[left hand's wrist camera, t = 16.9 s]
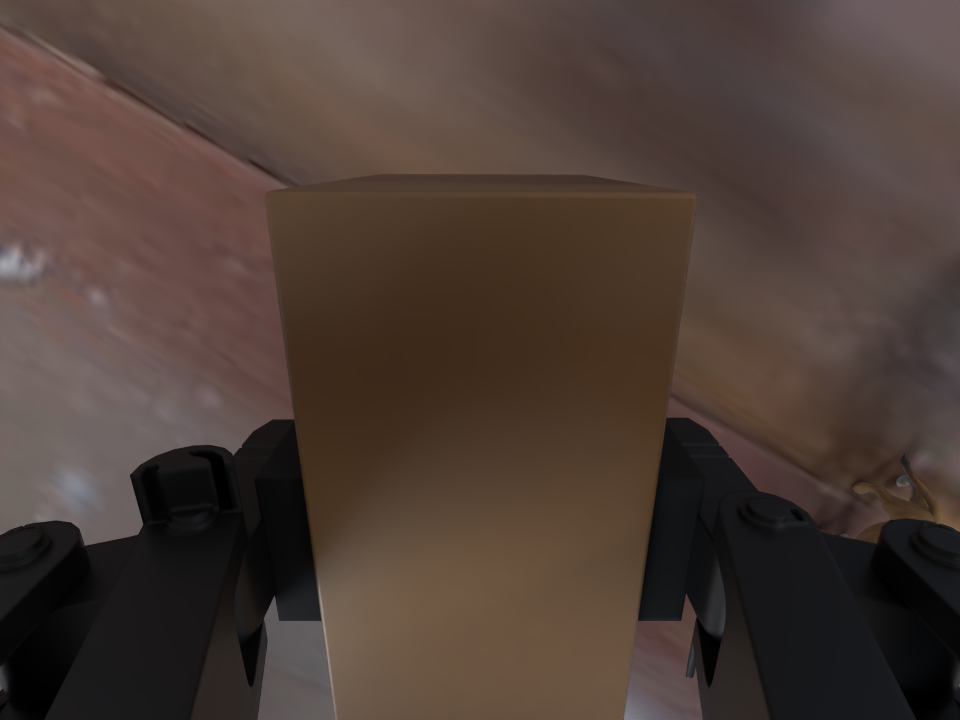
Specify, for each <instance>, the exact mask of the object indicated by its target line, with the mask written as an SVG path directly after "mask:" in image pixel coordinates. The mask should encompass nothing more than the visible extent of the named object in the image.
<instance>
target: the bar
mask: <svg viewBox="0 0 960 720" xmlns="http://www.w3.org/2000/svg"><path fill="white" fill-rule="evenodd" d="M265 204H266V212H267V219H268V226H269V234H270V241H271V249H272V256H273V264H274V271H275V278H276V286H277V293H278V301H279V308H280V316H281V323H282V331H283V338H284V345H285V353H286V360H287V368H288V375H289V383H290V390H291V397H292V405H293V412H294V420H295V427H296V435H297V442H298V450H299V457H300V464H301V472H302V479H303V487H304V494H305V502H306V509H307V517H308V524H309V531H310V539H311V546H312V554H313V561H314V569H315V576H316V583H317V591H318V598H319V606H320V613H321V621H322V628H323V636H324V643H325V650H326V658H327V665H328V673H329V680H330V688H331V695H332V702H333V710H334V717H335V720H624V714H625V707H626V700H627V693H628V686H629V679H630V672H631V664H632V657H633V650H634V643H635V636H636V629H637V622H638V615H639V608H640V601H641V594H642V587H643V580H644V573H645V566H646V559H647V552H648V545H649V538H650V531H651V524H652V517H653V510H654V502H655V495H656V488H657V481H658V474H659V467H660V460H661V453H662V446H663V439H664V432H665V425H666V418H667V411H668V404H669V397H670V390H671V383H672V376H673V369H674V362H675V355H676V348H677V340H678V333H679V326H680V319H681V312H682V305H683V298H684V291H685V284H686V277H687V270H688V263H689V256H690V249H691V242H692V235H693V228H694V221H695V214H696V207H697V195H696V194H694V193H692V192H687V191H681V190H674V189H668V188H662V187H655V186H649V185H643V184H636V183H630V182H624V181H618V180H611V179H605V178H599V177H592V176H586V175H495V174H379V175H372V176H365V177H359V178H352V179H346V180H339V181H332V182H326V183H319V184H312V185H306V186H299V187H292V188H286V189H279V190H273V191H269V192H267V193H266V194H265Z"/></svg>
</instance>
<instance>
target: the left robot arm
mask: <svg viewBox="0 0 960 720" xmlns="http://www.w3.org/2000/svg"><path fill="white" fill-rule="evenodd" d="M728 456H729V455H728V454H727V453H726V451H725V450H724V449H723V448H722V447H721V446H719V443H718V442H717V441H716V439H715V438H714V437H713V436H712V434H711V433H710V432H709V431H708V430H707V429H706V428H704V427H702V426H701V425H699V424H697V423H696V422H694V421H692V420H691V419H689V418H666V425H665V432H664V439H663V446H662V453H661V460H660V467H659V474H658V481H657V488H656V495H655V502H654V510H653V517H652V524H651V531H650V538H649V545H648V552H647V559H646V566H645V573H644V580H643V587H642V594H641V601H640V608H639V615H638V621H681V618H682V613H683V607H684V601H685V596H686V594H687V596H688V598H689V600H690V602H691V604H692V606H693V608H694V611H695V613H696V615H697V617H696V622H695V627H694V633H693V638H692V643H691V648H690V653H689V659H688V664H687V671H686V677H690V678H693V676H694V671H695V666H696V671H697V679H698V687H699V694H700V702H701V710H702V717H703V720H960V687H959V684H960V532H959V531H956V530H955V529H953V528H951V527H949V526H946V525H943V524H940V523H939V524H937V523H936V522H932V521H927V520H917V519H909V518H903V519H895V520H890V521H888V522H887V523H886V524H885V525H883V526H882V528H881V531H880V534H879V537H878V540H877V543H871V542H866V541H861V540H856V539H851V538H846V537H841V536H835V535H831V534H827V533H823V532H821V531H820V529H819V527H818V525H817V524H816V522H815V521H814V520H813V519H812V518H811V516H810V515H809V514H808V513H807V512H806V511H804V510H803V509H801V508H800V507H798V506H797V505H795V504H794V503H792V502H790V501H788V500H785V499H783V498H781V497H778V496H776V495H772V494H768V493H764V492H759V491H758V490H757V489H756V488H755V486H754V485H753V484H752V483H751V482H750V480H749V479H748V478H747V477H746V475H745V474H744V473H743V472H742V471H741V469H740V468H739V467H738V466H737V465H736V463H735V462H734V461H733V460H732V459H731V458H729V457H728ZM130 477H131V481H132V485H133V488H134V492H135V496H136V499H137V503H138V506H139V510H140V514H141V517H142V521H143V526H142V528H141V530H140V532H139V534H138V535H135V536H131V537H127V538H122V539H117V540H112V541H107V542H102V543H97V544H92V545H87V546H85V545H84V542H83V538H82V535H81V532H80V529H79V528H78V527H76V526H75V525H74V524H72V523H71V522H63V521H48V522H40V523H32V524H28V525H25V526H24V527H22V526H20V527H17V528H14V529H11V530H9V531H7V532H6V533H4V534H2V535H0V683H1V685H2V687H3V689H2V690H1V691H0V720H257V719H258V711H259V703H260V696H261V688H262V680H263V673H264V665H265V657H266V650H267V642H268V641H267V634H266V627H265V622H264V617H265V614H266V612H267V610H268V608H269V606H270V604H271V602H272V600H273V597H274V595H275V599H276V604H277V610H278V616H279V621H321V613H320V606H319V598H318V591H317V583H316V576H315V569H314V561H313V554H312V546H311V539H310V531H309V524H308V517H307V509H306V502H305V494H304V487H303V479H302V472H301V464H300V457H299V450H298V442H297V435H296V427H295V420H271V421H270V422H268V423H267V424H265V425H263V426H262V427H260V428H258V429H257V430H255V431H253V433H252V434H251V435H250V436H249V437H248V439H247V440H246V441H245V442H244V443H243V445H242V448H239V450H238V451H237V452H236V453H235V454H234V456H233V455H232V453H230V452H229V451H228V450H226V449H225V448H222V447H218V446H213V445H196V446H189V447H184V448H179V449H174V450H171V451H168V452H166V453H163V454H160V455H157V456H155V457H153V458H152V459H150V460H148V461H146V462H145V463H143V464H141V465H140V466H139V467H138V468H137V469H136V470H135V471H134V472H133V473H132V474H131V475H130Z"/></svg>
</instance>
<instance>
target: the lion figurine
mask: <svg viewBox="0 0 960 720" xmlns="http://www.w3.org/2000/svg"><path fill="white" fill-rule="evenodd" d="M900 462H901V465H902V467H903V469H904V472H905V473H906V474H907V475H902V476H900V477H899V478H898V479H897V480H896V482H897V485H898V486H899V487H906V486H908V485H909V486H910V489H911V497H910V501H909V502H908V501H906V500H903V499H900V498H898V497H895V496H893V495H892V494H891V493H890V492H889V491H888V489H887V488H886V487H885V486H881V485H875V484H870V483H867V482H859V483H857V484H856V485H854V488H853V490H854V491H855V492H856V493H858V494H861V495H863V494H865V493H866V492H868V491H870V492H873V493H875V494H876V495H877V496H878V497H879V499H880V501H881V503H882V506H883V508H884V510H885V511H886V512H887V513H888V514H889V516H890V517H891V520H895V519H903V518H909V519H917V520H927V521H932V522H936V523H937V524H939V523H940V524H942V522H943V518H942V512H941V509H940V507H939V505H938V503H937V501H936V500H935V498H934V497H933V496H932V494H931V493H930V492H929V491H928V490H927V488H926V487H925V486H924V485H923V484H922V483H921V482H920V481H919V480H918V478H917V477H916V476H915V475H914V473H913V471H912V470H911V468H910V463H909V461H908V455H906V454H905V455H904V456H903V457H902V458H901V460H900ZM926 502H927V503H926ZM927 504H928V505H927ZM928 506H929V507H928ZM887 522H888V521H887ZM887 522H882V523H878V524H875V525H872V526H870V527H869V528H867V529H866V530H864V531H863V532H861V533H860V534H859V535H858V537H857V538H856V540H861V541H866V542H871V543H877V540H878V537H879V534H880V531H881V528H882V526H883V525H885V524H886V523H887ZM820 531H821V532H823V533H827V534H831V533H830V532H828V531H825V530H823V529H820ZM831 535H832V534H831ZM839 536H841V537H846V538H851V539H853V538H852V537H851V536H850V535H847V534H841V535H839Z"/></svg>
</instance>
